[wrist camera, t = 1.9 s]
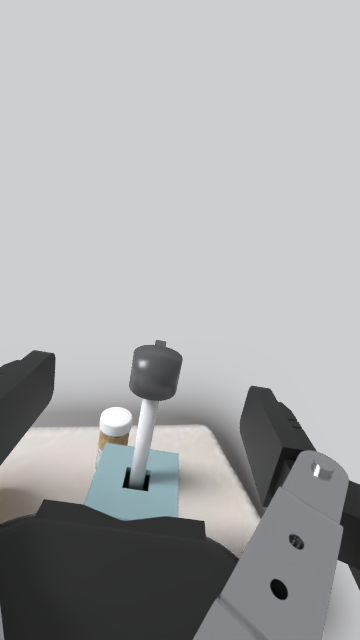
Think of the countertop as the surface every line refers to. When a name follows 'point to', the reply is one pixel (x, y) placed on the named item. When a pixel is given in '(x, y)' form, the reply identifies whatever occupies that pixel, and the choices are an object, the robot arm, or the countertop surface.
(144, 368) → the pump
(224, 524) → the countertop surface
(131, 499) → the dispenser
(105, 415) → the sprinkles bottle
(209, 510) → the countertop surface
